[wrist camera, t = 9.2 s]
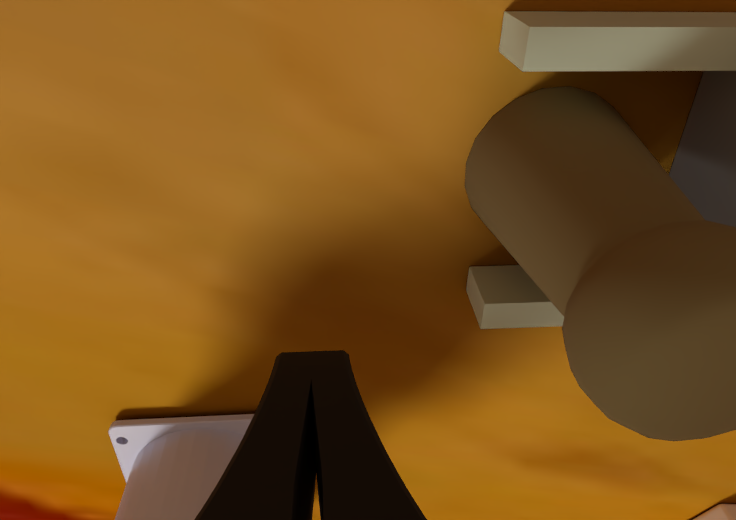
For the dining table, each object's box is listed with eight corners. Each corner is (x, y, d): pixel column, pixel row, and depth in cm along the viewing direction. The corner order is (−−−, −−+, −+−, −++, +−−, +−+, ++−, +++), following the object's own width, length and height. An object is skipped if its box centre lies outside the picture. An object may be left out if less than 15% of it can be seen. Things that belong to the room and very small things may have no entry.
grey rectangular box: (658, 284, 24) (730, 366, 20) (466, 290, 23) (498, 376, 19) (758, 11, 18) (892, 47, 14) (504, 11, 17) (563, 47, 13)
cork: (653, 93, 19) (957, 273, 10) (596, 242, 23) (787, 481, 13) (484, 78, 19) (645, 257, 9) (450, 234, 22) (546, 481, 13)
